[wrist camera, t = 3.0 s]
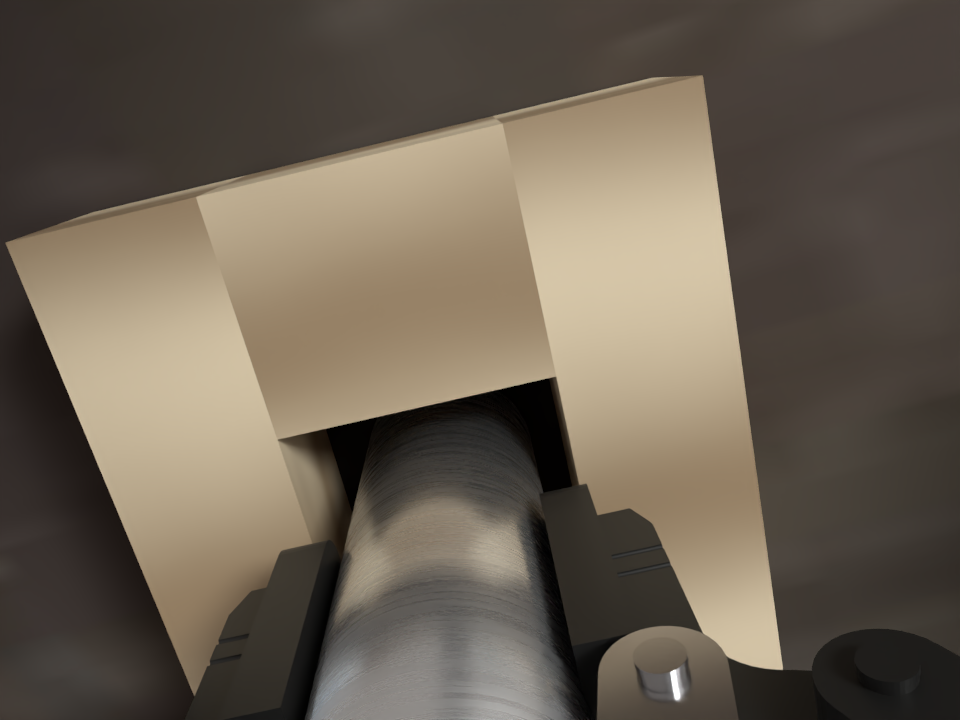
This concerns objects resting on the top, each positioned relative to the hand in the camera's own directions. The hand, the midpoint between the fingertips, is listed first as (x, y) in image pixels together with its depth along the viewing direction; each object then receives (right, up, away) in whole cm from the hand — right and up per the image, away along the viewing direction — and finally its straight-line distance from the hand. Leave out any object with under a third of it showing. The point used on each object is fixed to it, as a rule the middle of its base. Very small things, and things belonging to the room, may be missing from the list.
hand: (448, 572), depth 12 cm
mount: (0, +1, +4) cm, 4 cm away
